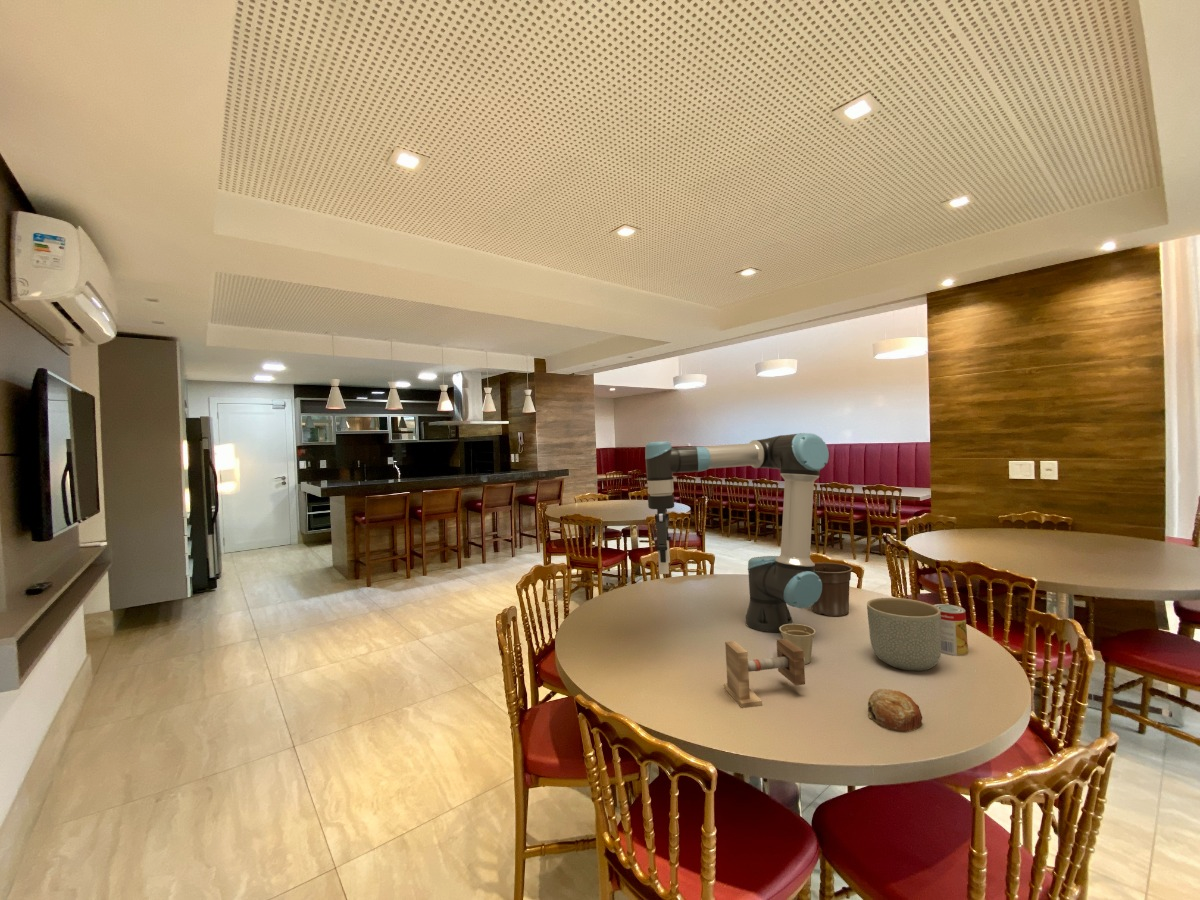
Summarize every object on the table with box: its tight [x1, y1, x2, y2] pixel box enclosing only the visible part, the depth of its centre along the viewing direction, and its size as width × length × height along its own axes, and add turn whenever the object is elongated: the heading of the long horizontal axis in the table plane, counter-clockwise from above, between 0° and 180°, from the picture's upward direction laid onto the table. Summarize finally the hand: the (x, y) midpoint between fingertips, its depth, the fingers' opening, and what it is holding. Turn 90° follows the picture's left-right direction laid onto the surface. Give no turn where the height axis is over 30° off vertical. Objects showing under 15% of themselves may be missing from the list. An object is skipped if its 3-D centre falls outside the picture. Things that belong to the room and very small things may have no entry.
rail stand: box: [723, 640, 806, 709], centre depth 118 cm, size 19×10×12 cm, turn 99°
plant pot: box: [811, 562, 853, 617], centre depth 174 cm, size 16×16×16 cm
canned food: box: [933, 603, 969, 657], centre depth 137 cm, size 8×8×12 cm
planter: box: [866, 597, 942, 672], centre depth 130 cm, size 17×17×15 cm
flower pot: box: [779, 623, 816, 665], centre depth 135 cm, size 9×9×9 cm
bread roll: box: [867, 688, 923, 733], centre depth 104 cm, size 10×10×8 cm
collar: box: [776, 638, 806, 687], centre depth 118 cm, size 2×8×8 cm, turn 9°
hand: (664, 567), depth 139 cm, fingers open, 13 cm apart
